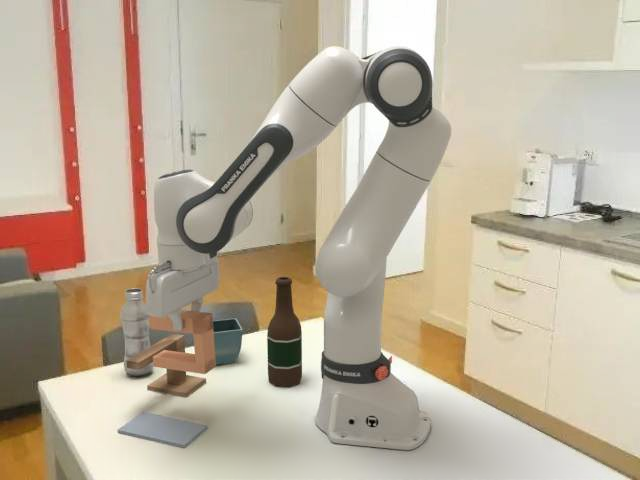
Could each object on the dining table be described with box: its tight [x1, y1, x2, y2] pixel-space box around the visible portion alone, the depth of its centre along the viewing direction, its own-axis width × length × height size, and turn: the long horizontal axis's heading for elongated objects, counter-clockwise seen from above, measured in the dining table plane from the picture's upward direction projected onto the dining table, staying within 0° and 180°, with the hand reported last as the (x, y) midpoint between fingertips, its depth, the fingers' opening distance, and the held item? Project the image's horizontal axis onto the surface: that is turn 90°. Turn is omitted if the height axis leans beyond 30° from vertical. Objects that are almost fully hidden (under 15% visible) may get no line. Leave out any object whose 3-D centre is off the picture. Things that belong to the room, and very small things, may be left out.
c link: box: [149, 309, 217, 375], centre depth 128 cm, size 12×4×11 cm, turn 68°
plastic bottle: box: [119, 287, 154, 377], centre depth 149 cm, size 6×7×20 cm
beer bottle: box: [266, 276, 303, 388], centre depth 144 cm, size 8×8×24 cm
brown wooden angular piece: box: [126, 333, 207, 398], centre depth 138 cm, size 10×18×12 cm, turn 158°
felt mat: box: [117, 410, 209, 449], centre depth 125 cm, size 15×8×1 cm, turn 68°
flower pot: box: [213, 318, 243, 365], centre depth 158 cm, size 9×9×9 cm
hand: (187, 324), depth 127 cm, fingers closed on c link, 4 cm apart
